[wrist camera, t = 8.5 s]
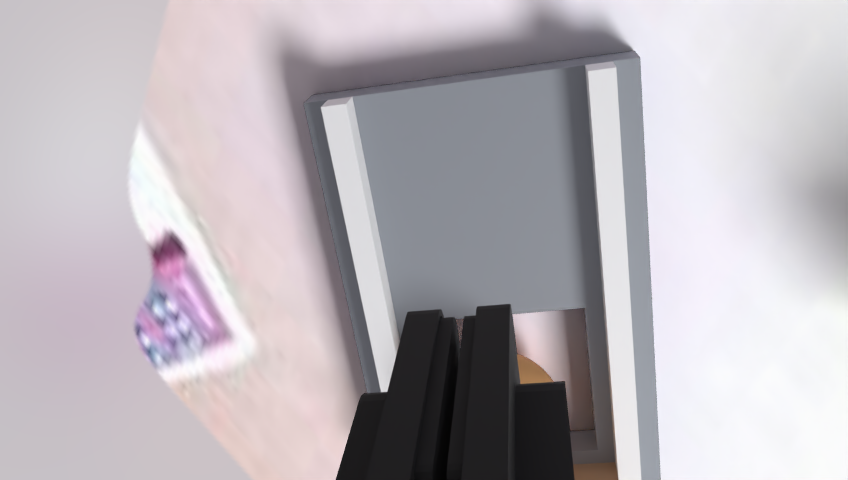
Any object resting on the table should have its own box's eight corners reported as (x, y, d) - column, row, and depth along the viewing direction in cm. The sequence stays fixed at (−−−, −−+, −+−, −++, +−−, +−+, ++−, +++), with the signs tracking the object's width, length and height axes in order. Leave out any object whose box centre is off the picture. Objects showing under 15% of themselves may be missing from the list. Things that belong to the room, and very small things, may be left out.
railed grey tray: (312, 94, 32) (282, 122, 28) (634, 50, 30) (653, 73, 25) (395, 477, 39) (380, 544, 35) (655, 464, 37) (673, 533, 33)
